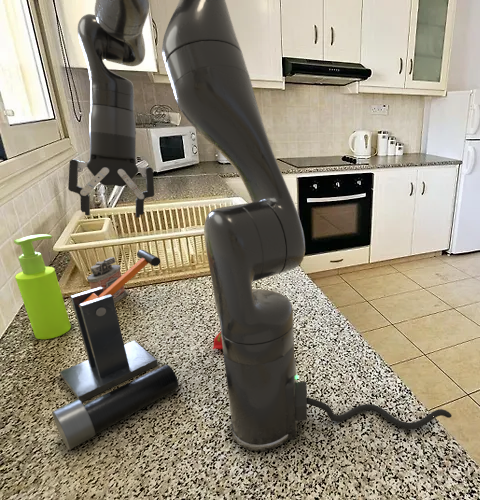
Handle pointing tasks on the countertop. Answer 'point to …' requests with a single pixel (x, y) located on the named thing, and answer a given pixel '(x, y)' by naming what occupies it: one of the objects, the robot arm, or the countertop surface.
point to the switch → (128, 274)
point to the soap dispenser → (41, 292)
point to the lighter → (106, 277)
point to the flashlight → (112, 406)
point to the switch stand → (103, 348)
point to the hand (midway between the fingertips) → (113, 216)
